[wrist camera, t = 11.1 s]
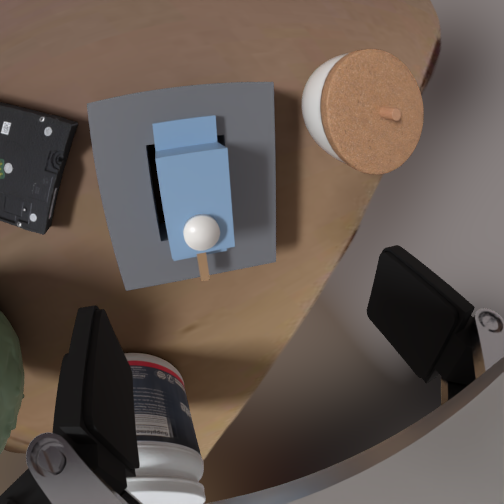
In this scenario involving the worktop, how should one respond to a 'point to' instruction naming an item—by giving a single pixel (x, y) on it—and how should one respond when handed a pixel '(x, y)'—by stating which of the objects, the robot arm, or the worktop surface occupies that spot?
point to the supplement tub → (163, 435)
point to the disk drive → (31, 165)
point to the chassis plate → (141, 183)
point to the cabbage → (9, 379)
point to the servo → (194, 188)
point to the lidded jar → (364, 110)
